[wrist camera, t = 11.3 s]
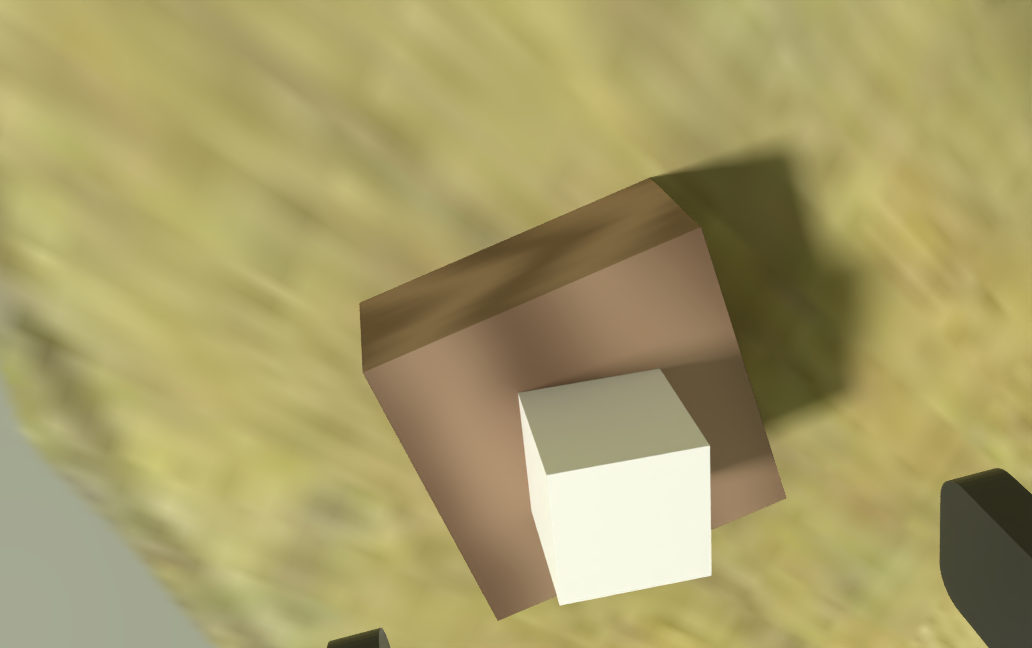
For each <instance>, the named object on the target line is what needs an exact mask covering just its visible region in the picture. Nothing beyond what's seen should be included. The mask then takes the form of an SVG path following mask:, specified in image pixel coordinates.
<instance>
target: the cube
mask: <svg viewBox="0 0 1032 648" xmlns="http://www.w3.org/2000/svg"><path fill="white" fill-rule="evenodd" d="M518 397H519V406H520V415H521V423H522V432H523V441H524V450H525V459H526V467H527V476H528V485H529V494H530V502H531V511H532V515H533V518H534V521H535V525H536V528H537V531H538V534H539V538H540V541H541V544H542V548H543V551H544V554H545V558H546V561H547V564H548V568H549V571H550V574H551V578H552V581H553V584H554V587H555V591H556V594H557V597H558V601H559V604H560V605H564V604H569V603H575V602H580V601H585V600H590V599H595V598H600V597H605V596H610V595H615V594H620V593H625V592H630V591H635V590H641V589H646V588H651V587H656V586H661V585H666V584H671V583H676V582H681V581H686V580H691V579H696V578H702V577H707V576H711V496H710V445H709V443H708V442H707V440H706V439H705V437H704V436H703V434H702V433H701V431H700V430H699V428H698V427H697V425H696V423H695V422H694V420H693V419H692V417H691V416H690V414H689V413H688V411H687V410H686V408H685V407H684V405H683V403H682V402H681V400H680V399H679V397H678V396H677V394H676V393H675V391H674V390H673V388H672V387H671V385H670V383H669V382H668V380H667V379H666V377H665V376H664V374H663V373H662V371H661V370H660V369H654V370H648V371H642V372H637V373H631V374H625V375H619V376H613V377H607V378H602V379H596V380H590V381H584V382H578V383H572V384H567V385H561V386H555V387H549V388H543V389H538V390H532V391H526V392H520V393H518Z"/></svg>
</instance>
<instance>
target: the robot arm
mask: <svg viewBox="0 0 1032 648" xmlns="http://www.w3.org/2000/svg"><path fill="white" fill-rule="evenodd" d="M940 570H941V575H942V579H943V582H944V585H945V587H946V590H947V592H948V594H949V596H950V598H951V600H952V602H953V603H954V605H955V606H956V608H957V609H958V610H959V612H960V613H961V614H962V615H963V617H964V618H965V619H966V620H967V621H968V623H969V624H970V625H971V626H972V628H973V629H974V630H975V631H976V632H977V634H978V635H979V636H980V637H981V639H982V640H983V641H984V642H985V644H986V645H987V646H988V647H989V648H1032V494H1031V493H1030V492H1029V491H1028V490H1027V489H1025V488H1024V487H1023V486H1022V485H1021V484H1020V483H1019V482H1018V481H1017V480H1016V479H1015V478H1013V477H1012V476H1011V475H1010V474H1009V473H1008V472H1006V471H1005V470H1003V469H1000V468H995V469H991V470H987V471H984V472H980V473H976V474H972V475H968V476H965V477H961V478H957V479H953V480H949V481H946V482H945V483H944V484H943V486H942V489H941V502H940ZM327 648H390V645H389V642H388V639H387V637H386V634H385V632H384V630H383V629H382V628H378V629H375V630H371V631H367V632H363V633H359V634H356V635H352V636H348V637H344V638H340V639H336V640H333V641H330V642H329V643H328V646H327Z"/></svg>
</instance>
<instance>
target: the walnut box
mask: <svg viewBox="0 0 1032 648" xmlns="http://www.w3.org/2000/svg"><path fill="white" fill-rule="evenodd" d="M360 324H361V345H362V367H363V374H364V376H365V378H366V380H367V381H368V383H369V385H370V387H371V389H372V391H373V392H374V394H375V396H376V398H377V400H378V402H379V403H380V405H381V407H382V409H383V411H384V413H385V414H386V416H387V418H388V420H389V422H390V424H391V425H392V427H393V429H394V431H395V433H396V435H397V436H398V438H399V440H400V442H401V444H402V446H403V447H404V449H405V451H406V453H407V455H408V457H409V458H410V460H411V462H412V464H413V466H414V468H415V470H416V471H417V473H418V475H419V477H420V479H421V481H422V482H423V484H424V486H425V488H426V490H427V492H428V493H429V495H430V497H431V499H432V501H433V503H434V504H435V506H436V508H437V510H438V512H439V514H440V515H441V517H442V519H443V521H444V523H445V525H446V526H447V528H448V530H449V532H450V534H451V536H452V537H453V539H454V541H455V543H456V545H457V547H458V549H459V550H460V552H461V554H462V556H463V558H464V560H465V561H466V563H467V565H468V567H469V569H470V571H471V572H472V574H473V576H474V578H475V580H476V582H477V583H478V585H479V587H480V589H481V591H482V593H483V594H484V596H485V598H486V600H487V602H488V604H489V605H490V607H491V609H492V611H493V613H494V615H495V616H496V618H497V620H498V621H499V620H501V619H503V618H506V617H508V616H511V615H513V614H515V613H518V612H520V611H522V610H525V609H527V608H529V607H532V606H534V605H536V604H539V603H541V602H543V601H546V600H548V599H550V598H553V597H555V596H557V594H556V591H555V587H554V584H553V581H552V578H551V574H550V571H549V568H548V564H547V561H546V558H545V554H544V551H543V548H542V544H541V541H540V538H539V534H538V531H537V528H536V525H535V521H534V518H533V515H532V511H531V502H530V494H529V485H528V476H527V467H526V459H525V450H524V441H523V432H522V423H521V415H520V406H519V397H518V393H520V392H526V391H532V390H538V389H543V388H549V387H555V386H561V385H567V384H572V383H578V382H584V381H590V380H596V379H602V378H607V377H613V376H619V375H625V374H631V373H637V372H642V371H648V370H654V369H660V370H661V371H662V373H663V374H664V376H665V377H666V379H667V380H668V382H669V383H670V385H671V387H672V388H673V390H674V391H675V393H676V394H677V396H678V397H679V399H680V400H681V402H682V403H683V405H684V407H685V408H686V410H687V411H688V413H689V414H690V416H691V417H692V419H693V420H694V422H695V423H696V425H697V427H698V428H699V430H700V431H701V433H702V434H703V436H704V437H705V439H706V440H707V442H708V443H709V445H710V496H711V530H713V529H715V528H717V527H720V526H722V525H724V524H727V523H729V522H731V521H734V520H736V519H739V518H741V517H743V516H746V515H748V514H750V513H753V512H755V511H757V510H760V509H762V508H764V507H767V506H769V505H771V504H774V503H776V502H778V501H781V500H783V499H786V495H785V492H784V489H783V486H782V483H781V479H780V476H779V473H778V470H777V467H776V464H775V460H774V457H773V454H772V451H771V448H770V444H769V441H768V438H767V435H766V432H765V429H764V425H763V422H762V419H761V416H760V413H759V409H758V406H757V403H756V400H755V397H754V394H753V390H752V387H751V384H750V381H749V378H748V375H747V371H746V368H745V365H744V362H743V359H742V355H741V352H740V349H739V346H738V343H737V340H736V336H735V333H734V330H733V327H732V324H731V321H730V317H729V314H728V311H727V308H726V305H725V301H724V298H723V295H722V292H721V289H720V286H719V282H718V279H717V276H716V273H715V270H714V267H713V263H712V260H711V257H710V254H709V251H708V247H707V244H706V241H705V238H704V235H703V232H702V228H701V226H700V225H699V224H698V223H696V222H695V221H694V220H693V219H692V218H691V217H690V216H689V215H688V214H687V213H686V212H685V211H684V210H683V209H682V208H681V207H680V206H679V205H678V204H677V203H676V202H675V201H674V200H673V199H672V198H671V197H670V196H669V195H668V194H667V193H665V192H664V191H663V190H662V189H661V188H660V187H659V186H658V185H657V184H656V183H655V182H654V181H653V180H652V179H651V178H648V179H646V180H643V181H641V182H639V183H636V184H634V185H632V186H629V187H627V188H625V189H622V190H620V191H618V192H616V193H613V194H611V195H609V196H606V197H604V198H602V199H599V200H597V201H595V202H592V203H590V204H588V205H585V206H583V207H581V208H578V209H576V210H574V211H572V212H569V213H567V214H565V215H562V216H560V217H558V218H555V219H553V220H551V221H548V222H546V223H544V224H541V225H539V226H537V227H534V228H532V229H530V230H528V231H525V232H523V233H521V234H518V235H516V236H514V237H511V238H509V239H507V240H504V241H502V242H500V243H497V244H495V245H493V246H490V247H488V248H486V249H484V250H481V251H479V252H477V253H474V254H472V255H470V256H467V257H465V258H463V259H460V260H458V261H456V262H453V263H451V264H449V265H446V266H444V267H442V268H440V269H437V270H435V271H433V272H430V273H428V274H426V275H423V276H421V277H419V278H416V279H414V280H412V281H409V282H407V283H405V284H403V285H400V286H398V287H396V288H393V289H391V290H389V291H386V292H384V293H382V294H379V295H377V296H375V297H372V298H370V299H368V300H365V301H363V302H361V303H360Z"/></svg>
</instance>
